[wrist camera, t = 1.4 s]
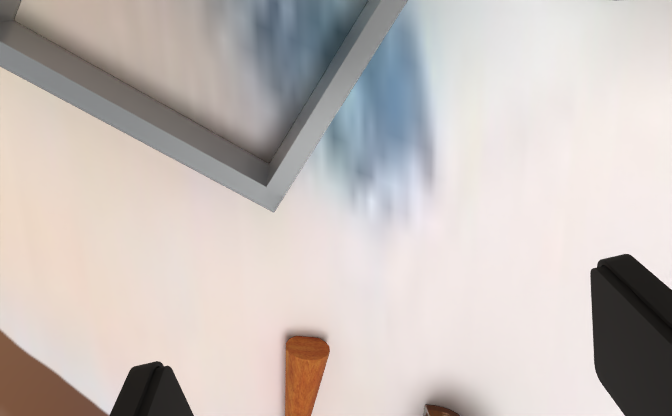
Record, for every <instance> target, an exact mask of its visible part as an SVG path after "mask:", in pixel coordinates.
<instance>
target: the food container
mask: <svg viewBox="0 0 672 416" xmlns="http://www.w3.org/2000/svg"><path fill="white" fill-rule="evenodd" d="M423 416H460V415H458V414H457V413H455V412H454V411H452V410H450V409H447V408H444V407H440V406H436V405H425V408H424V413H423Z"/></svg>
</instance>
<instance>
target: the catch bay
mask: <svg viewBox="0 0 672 416" xmlns="http://www.w3.org/2000/svg"><path fill="white" fill-rule="evenodd" d="M407 1H408V0H368V2H367V4H366V5H365V7H364V9H363V10H362V12H361V13H360V15H359V17H358V18H357V20H356V22H355V23H354V25H353V27H352V28H351V30H350V32H349V33H348V35H347V37H346V38H345V40H344V41H343V43H342V45H341V46H340V48H339V50H338V51H337V53H336V55H335V56H334V58H333V60H332V61H331V63H330V65H329V66H328V68H327V69H326V71H325V73H324V74H323V76H322V78H321V79H320V81H319V83H318V84H317V86H316V88H315V89H314V91H313V93H312V94H311V96H310V98H309V99H308V101H307V102H306V104H305V106H304V107H303V109H302V111H301V112H300V114H299V116H298V117H297V119H296V121H295V122H294V124H293V126H292V127H291V129H290V130H289V132H288V134H287V135H286V137H285V139H284V140H283V142H282V144H281V145H280V147H279V149H278V150H277V152H276V154H275V155H274V157H273V158H272V160H271V162H270V163H269V164H268V163H266V162H265V161H263V160H261V159H259V158H258V157H256V156H254V155H252V154H250V153H249V152H247V151H245V150H243V149H242V148H240V147H238V146H236V145H234V144H233V143H231V142H229V141H227V140H225V139H224V138H222V137H220V136H218V135H217V134H215V133H213V132H211V131H209V130H208V129H206V128H204V127H202V126H201V125H199V124H197V123H195V122H193V121H192V120H190V119H188V118H186V117H185V116H183V115H181V114H179V113H177V112H176V111H174V110H172V109H170V108H168V107H167V106H165V105H163V104H161V103H160V102H158V101H156V100H154V99H152V98H151V97H149V96H147V95H145V94H144V93H142V92H140V91H138V90H136V89H135V88H133V87H131V86H129V85H128V84H126V83H124V82H122V81H120V80H119V79H117V78H115V77H113V76H111V75H110V74H108V73H106V72H104V71H103V70H101V69H99V68H97V67H95V66H94V65H92V64H90V63H88V62H87V61H85V60H83V59H81V58H79V57H78V56H76V55H74V54H72V53H70V52H69V51H67V50H65V49H63V48H62V47H60V46H58V45H56V44H54V43H53V42H51V41H49V40H47V39H46V38H44V37H42V36H40V35H38V34H37V33H35V32H33V31H31V30H30V29H28V28H26V27H24V26H22V25H21V24H19V23H17V22H15V21H13V20H14V17H15V15H16V12H17V10H18V7H19V5H20V2H21V0H0V67H2V68H4V69H6V70H8V71H10V72H12V73H14V74H15V75H17V76H19V77H21V78H23V79H25V80H27V81H29V82H30V83H32V84H34V85H36V86H38V87H40V88H42V89H44V90H45V91H47V92H49V93H51V94H53V95H55V96H57V97H58V98H60V99H62V100H64V101H66V102H68V103H70V104H72V105H73V106H75V107H77V108H79V109H81V110H83V111H85V112H87V113H88V114H90V115H92V116H94V117H96V118H98V119H100V120H101V121H103V122H105V123H107V124H109V125H111V126H113V127H115V128H116V129H118V130H120V131H122V132H124V133H126V134H128V135H130V136H131V137H133V138H135V139H137V140H139V141H141V142H143V143H145V144H146V145H148V146H150V147H152V148H154V149H156V150H158V151H159V152H161V153H163V154H165V155H167V156H169V157H171V158H173V159H174V160H176V161H178V162H180V163H182V164H184V165H186V166H188V167H189V168H191V169H193V170H195V171H197V172H199V173H201V174H203V175H204V176H206V177H208V178H210V179H212V180H214V181H216V182H217V183H219V184H221V185H223V186H225V187H227V188H229V189H231V190H232V191H234V192H236V193H238V194H240V195H242V196H244V197H246V198H247V199H249V200H251V201H253V202H255V203H257V204H259V205H261V206H262V207H264V208H266V209H268V210H270V211H272V212H275V210H276V209H277V207H278V206H279V204H280V203H281V201H282V199H283V198H284V196H285V195H286V193H287V191H288V190H289V188H290V187H291V185H292V183H293V182H294V180H295V179H296V177H297V176H298V174H299V172H300V171H301V169H302V168H303V166H304V164H305V163H306V161H307V160H308V158H309V156H310V155H311V153H312V152H313V150H314V149H315V147H316V145H317V144H318V142H319V141H320V139H321V137H322V136H323V134H324V133H325V131H326V129H327V128H328V126H329V125H330V123H331V122H332V120H333V118H334V117H335V115H336V114H337V112H338V110H339V109H340V107H341V106H342V104H343V102H344V101H345V99H346V98H347V96H348V95H349V93H350V91H351V90H352V88H353V87H354V85H355V83H356V82H357V80H358V79H359V77H360V76H361V74H362V72H363V71H364V69H365V68H366V66H367V64H368V63H369V61H370V60H371V58H372V56H373V55H374V53H375V52H376V50H377V49H378V47H379V45H380V44H381V42H382V41H383V39H384V37H385V36H386V34H387V33H388V31H389V29H390V28H391V26H392V25H393V23H394V22H395V20H396V18H397V17H398V15H399V14H400V12H401V10H402V9H403V7H404V6H405V4H406V2H407Z"/></svg>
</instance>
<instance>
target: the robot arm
mask: <svg viewBox="0 0 672 416" xmlns="http://www.w3.org/2000/svg"><path fill="white" fill-rule="evenodd" d="M614 1H618V0H614ZM591 297H592V320H593V342H594V364H595V370H596V373H597V376H598V378H599V380H600V382H601V383H602V385H603V386H604V387H605V389H606V390H607V392H608V393H609V394H610V396H611V397H612V398H613V400H614V401H615V403H616V404H617V405H618V407H619V408H620V409H621V411H622V412H623V414H624V415H625V416H672V290H671V289H670V288H669V287H667V286H666V285H665V284H664V283H663V282H662V281H660V280H659V279H658V278H657V277H656V276H655V275H653V274H652V273H651V272H650V271H649V270H648V269H646V268H645V267H644V266H643V265H642V264H641V263H639V262H638V261H637V260H636V259H635V258H634V257H632V256H631V255H629V254H624V255H619V256H615V257H610V258H606V259H602V260H600V261H599V262H598V264H597V268H593V269H592V270H591ZM110 416H194V415H193V413H192V411H191V409H190V407H189V404H188V402H187V400H186V398H185V396H184V394H183V392H182V389H181V387H180V385H179V383H178V381H177V379H176V377H175V374H174V372H173V370H172V369H171V367H170V366H163V364H162V363H161V362H158V361H156V362H152V363H148V364H143V365H139V366H134V367H133V368H131V370H130V371H129V374H128V376H127V378H126V380H125V382H124V385H123V387H122V389H121V391H120V394H119V396H118V398H117V400H116V402H115V405H114V407H113V409H112V411H111V414H110Z"/></svg>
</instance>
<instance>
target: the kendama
mask: <svg viewBox="0 0 672 416" xmlns="http://www.w3.org/2000/svg"><path fill="white" fill-rule="evenodd" d="M329 352H330V349H329V346H328V345H327V343H326V342H325V341H323V340H321V339H320V338H315V337H302V336H295V337H293V338H290V339H289V340H288V341H287V342H286V390H285V416H311V414H312V410H313V407H314V403H315V400H316V397H317V393H318V390H319V386H320V383H321V380H322V376H323V373H324V369H325V366H326V362H327V359H328V356H329Z"/></svg>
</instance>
